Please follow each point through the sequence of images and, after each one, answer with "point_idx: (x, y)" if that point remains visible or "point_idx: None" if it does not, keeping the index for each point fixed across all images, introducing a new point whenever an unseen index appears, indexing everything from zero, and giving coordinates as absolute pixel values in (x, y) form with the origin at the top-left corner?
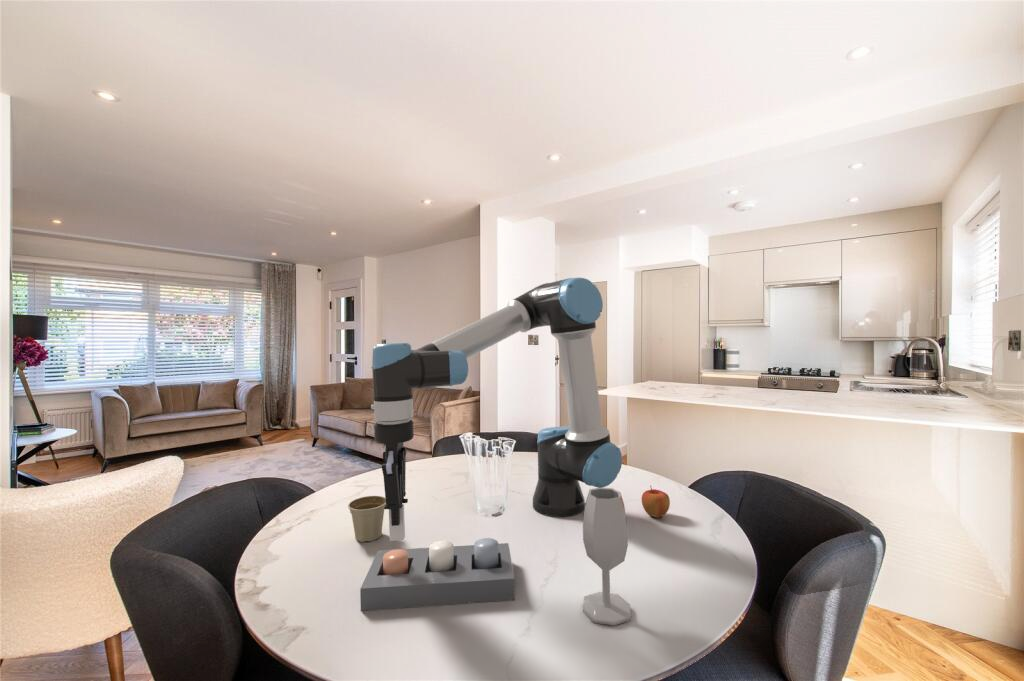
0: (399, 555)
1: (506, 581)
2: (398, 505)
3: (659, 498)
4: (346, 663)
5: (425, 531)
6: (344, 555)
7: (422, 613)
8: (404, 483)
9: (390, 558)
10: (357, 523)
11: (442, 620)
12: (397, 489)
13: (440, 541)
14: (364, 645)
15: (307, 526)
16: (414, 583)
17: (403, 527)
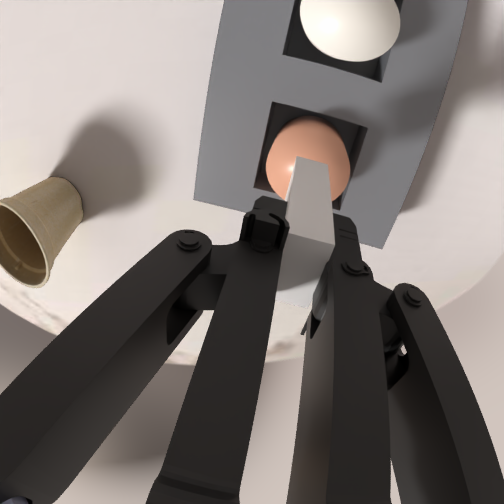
0: (313, 158)
1: None
2: (432, 311)
3: None
4: (491, 248)
5: (48, 71)
6: (133, 246)
7: (444, 103)
8: (159, 300)
9: None
10: (61, 247)
11: (481, 74)
12: (481, 416)
13: (308, 10)
14: (473, 222)
15: (42, 296)
16: (425, 124)
17: (326, 184)
